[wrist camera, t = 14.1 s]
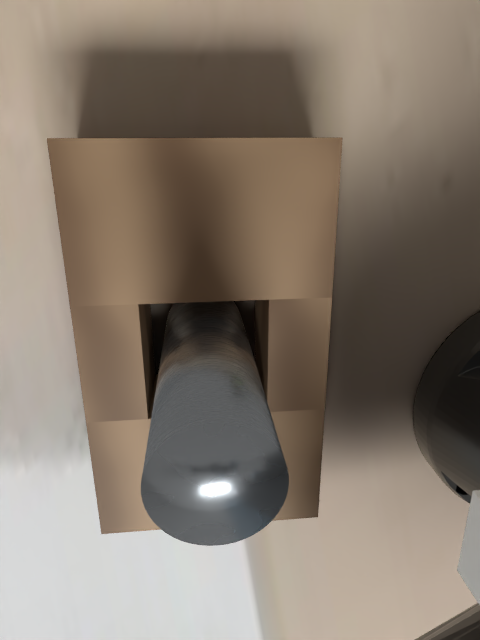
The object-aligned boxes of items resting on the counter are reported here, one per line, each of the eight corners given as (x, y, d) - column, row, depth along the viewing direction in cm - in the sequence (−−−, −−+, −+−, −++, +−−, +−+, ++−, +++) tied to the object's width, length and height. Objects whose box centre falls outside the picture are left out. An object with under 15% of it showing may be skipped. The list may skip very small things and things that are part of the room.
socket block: (312, 141, 24) (342, 137, 19) (298, 461, 31) (317, 516, 26) (76, 142, 23) (46, 138, 18) (116, 474, 30) (101, 533, 25)
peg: (241, 287, 26) (291, 419, 13) (242, 358, 28) (286, 539, 14) (164, 290, 26) (134, 428, 13) (168, 361, 27) (146, 551, 14)
